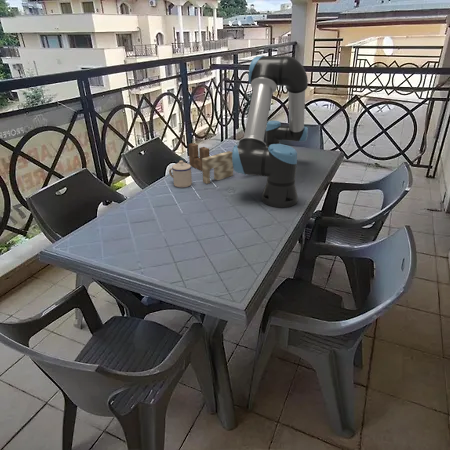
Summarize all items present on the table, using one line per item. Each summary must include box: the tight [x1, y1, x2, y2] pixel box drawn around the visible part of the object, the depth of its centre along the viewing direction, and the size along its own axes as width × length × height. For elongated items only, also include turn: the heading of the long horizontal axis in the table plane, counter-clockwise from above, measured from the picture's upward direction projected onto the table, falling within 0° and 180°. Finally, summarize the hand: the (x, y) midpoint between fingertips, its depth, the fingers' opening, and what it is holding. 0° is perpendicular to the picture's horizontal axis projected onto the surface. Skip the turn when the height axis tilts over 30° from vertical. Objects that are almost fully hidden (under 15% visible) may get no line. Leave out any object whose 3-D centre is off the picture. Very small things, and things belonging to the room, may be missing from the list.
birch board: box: [202, 150, 234, 185], centre depth 169 cm, size 17×3×12 cm, turn 131°
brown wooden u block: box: [187, 142, 211, 172], centre depth 183 cm, size 14×3×12 cm, turn 41°
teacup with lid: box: [168, 160, 193, 188], centre depth 164 cm, size 12×9×12 cm
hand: (229, 162), depth 174 cm, fingers open, 13 cm apart
